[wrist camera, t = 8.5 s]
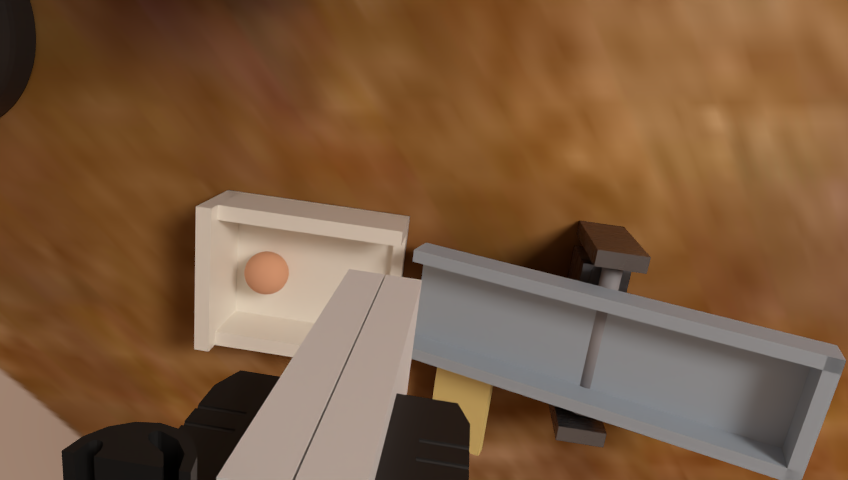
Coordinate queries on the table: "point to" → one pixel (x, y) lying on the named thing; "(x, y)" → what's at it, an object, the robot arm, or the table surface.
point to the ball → (266, 272)
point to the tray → (304, 254)
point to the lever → (621, 361)
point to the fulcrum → (598, 251)
